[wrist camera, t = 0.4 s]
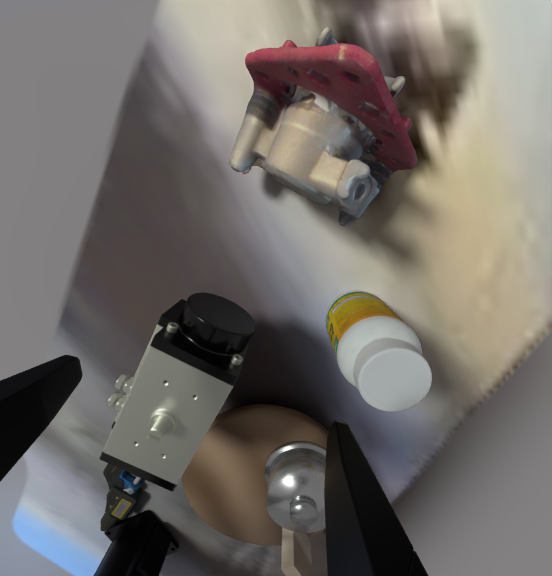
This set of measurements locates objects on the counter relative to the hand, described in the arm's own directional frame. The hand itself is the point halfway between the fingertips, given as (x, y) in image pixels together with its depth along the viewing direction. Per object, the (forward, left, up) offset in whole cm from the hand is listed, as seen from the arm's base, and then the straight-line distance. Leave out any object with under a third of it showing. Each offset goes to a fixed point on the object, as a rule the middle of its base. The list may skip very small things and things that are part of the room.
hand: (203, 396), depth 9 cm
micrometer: (-26, -13, -16) cm, 33 cm away
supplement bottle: (+6, -7, -15) cm, 18 cm away
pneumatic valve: (-6, -2, -15) cm, 16 cm away
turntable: (-9, -17, -14) cm, 23 cm away
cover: (-5, -17, -12) cm, 21 cm away
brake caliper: (+10, +7, -15) cm, 20 cm away
